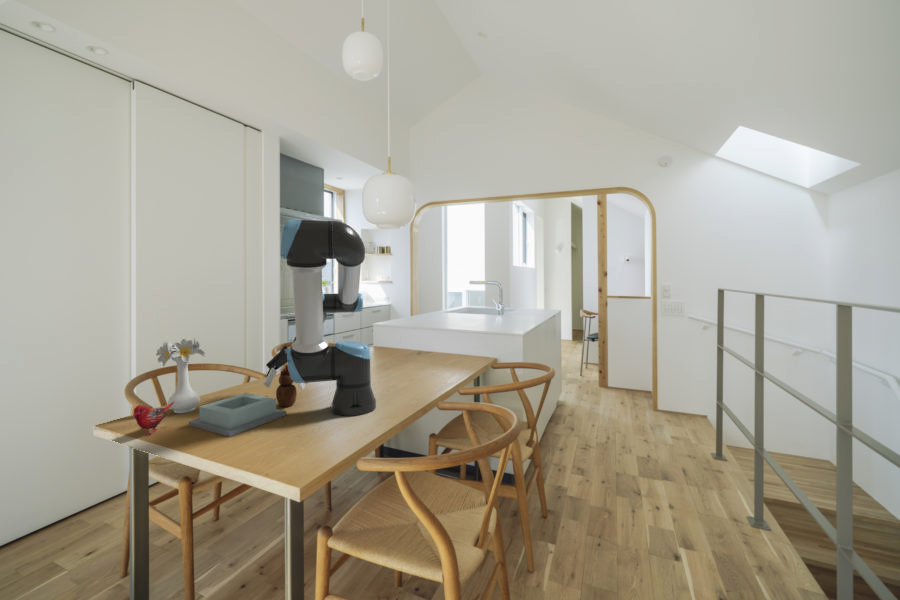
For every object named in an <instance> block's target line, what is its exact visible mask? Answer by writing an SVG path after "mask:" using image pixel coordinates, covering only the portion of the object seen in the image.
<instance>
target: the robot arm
mask: <svg viewBox="0 0 900 600" xmlns="http://www.w3.org/2000/svg"><path fill="white" fill-rule="evenodd" d="M281 233H282V234H281V241H280V258H281V259H283V260H286V266H287V267H289V268H290V269H291V270H292V281H293V282H292V283H293V284H292V287H293V303H294V304H293V305H294V323H295V337H294V340H293V341H292V343H291V347H287V346H286V345H283V346H282V348H281V350H280V351H279V352H278V353H277V354H276V355H275V356H274V357H273V358H271V359H270V360H269V361H268V362H267V363H266V365H265V366H266V367H267V368H268V371H267V372H266V375H265V376H266V378H265V380H264V382H263V385H265V387H266V388H271V387H270V386H271V385H272V382H273V381H274V380H275V376H276V375H277V372H278V371H277V370H278V369H280V368H281V367H283V366H284V365H285V364H287V367H288V371H289V374H290V377H291V379H292V380H293V383H295V384H298V387H299V388H300V389H301V390H304V389H305V386H306V384H309V383H319V382H320V383H322V382H331V381H335V383H336V384H335V385H336V387H335V391H334V394H333V399H332V402H331V412H332V413H333V414H335V415H339V416H347V417H351V416H360V415H364V414H365V415H366V414H368V413H371V412H373V411H374V410H376V408H377V400H376V397H375V395H374V391H373V388H372V385H371V381H372V378H371V377H372V376H371V359H372V357H371V348H370V347H369V345H368V344H366V343H363V342H360V341H351V340H350V341H349V340H340V341H336V342H335V343H334V346H330V343H329V341H328V340H327V339H326V338H325V337H324V336H325V335H324V323H325V322H326V319H327V317H328V314H330V313H331V314H333V313H338V314H339V313H357V312H358V313H359V312H362V311H363V308H364V307H363V306H364V301H363V300H364V298H363V294H362V293H360V279H361V267H362V264H363V262H364V261H365V259H366V248H365V244H364V241H363V239H362V238H361V236H360V234H359V233H358V232H357V231H356V230H355V229H354V228H352V226H351V225H348V224H347V223H345V222H342V221H338V220H319V219H318V220H316V219H302V218H301V219H289V220H286V221H285V222H284V223H283V227H282V232H281ZM334 259H335V261H336V262H337V289H338V290H337V293H324V292H323V269H324V268H325V267H326V266H327V264H328V263H327V260H334Z"/></svg>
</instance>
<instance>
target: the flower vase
mask: <svg viewBox="0 0 900 600" xmlns="http://www.w3.org/2000/svg"><path fill="white" fill-rule="evenodd" d="M196 354H199V355H201V356H202V357H206V356H205V355H206V353H205V351H204V350H203V349H202V348H201V349H200V343H199V341H196V338H193V340H191V339H190V340H187V339H186V338H182V339H181V341H180V342H174V343H172V340H171V339H170V340H169V341H166V340H165V341H163V344H162V346H159V348H157V350H156V354H155V355H156V356H158V358H157V362H158V363H162V366H163V367H164V366H165V365H166V364H167V362H169V360H170V359H171V360H172V361H174V362H175V363H176V367H177V368H176V369H177V384H176V387H175V390H174V392H173V393H172V395H171V396H170V397H169V398H168V400H167V406H168V405H169V404H170V403H172V402H174V403H173V404H172V405H171V407H170V408H169V409H171V410H172V411H173V413H175V414H185V413H190V412H193V411H195V410H196V406H197V405H198V404H199V403H200V401H201V396H200V395H199V394H198V393H197V392H196V391H194V389H193V388H192V386H191V384H190V378H189V361H190V358H191V356H194V355H196Z"/></svg>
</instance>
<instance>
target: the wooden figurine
mask: <svg viewBox="0 0 900 600" xmlns="http://www.w3.org/2000/svg"><path fill="white" fill-rule="evenodd" d="M278 383H279V385H278V386H277V388H276V392H275V399H276V402H277V403H278V405H279V406H280V407H283V408H285V407H287V406H288V407H291V406H293V405H294V404H295V402H296V400H297V394H298V393H297V387H296V385H295V384H293V383H294V382H293V380H292V379H291V377H290V374H289V369H288V364H287V365H285V368H283V369H282V370H281V371H280V375H279V378H278Z"/></svg>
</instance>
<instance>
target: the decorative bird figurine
mask: <svg viewBox="0 0 900 600" xmlns="http://www.w3.org/2000/svg"><path fill="white" fill-rule="evenodd" d="M173 403H174V402H172V403H170V404H169V405H168V404H167V405H166V406H165V407H152V408H150V407H148V406H147V405H143V404H139V405H137V406H136V407H135V408H134V409H133V410H134V411H133V416H132V417H134V419H135V420H136V423H137V425H138V426H139V428H141V429H144V430H151V431H149V432H148V434H145V437H147V436H150V435H149V434H151V435H152V434H153V433H155V432H156V431H157V430H158V428H157V427H158V426H159V425H160V424H161V422H162V421H163V420H164V418H165V417H166V414H167V411H168V410H169V409H171V408H170V407H171V405H172V404H173ZM154 431H155V432H154Z"/></svg>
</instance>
